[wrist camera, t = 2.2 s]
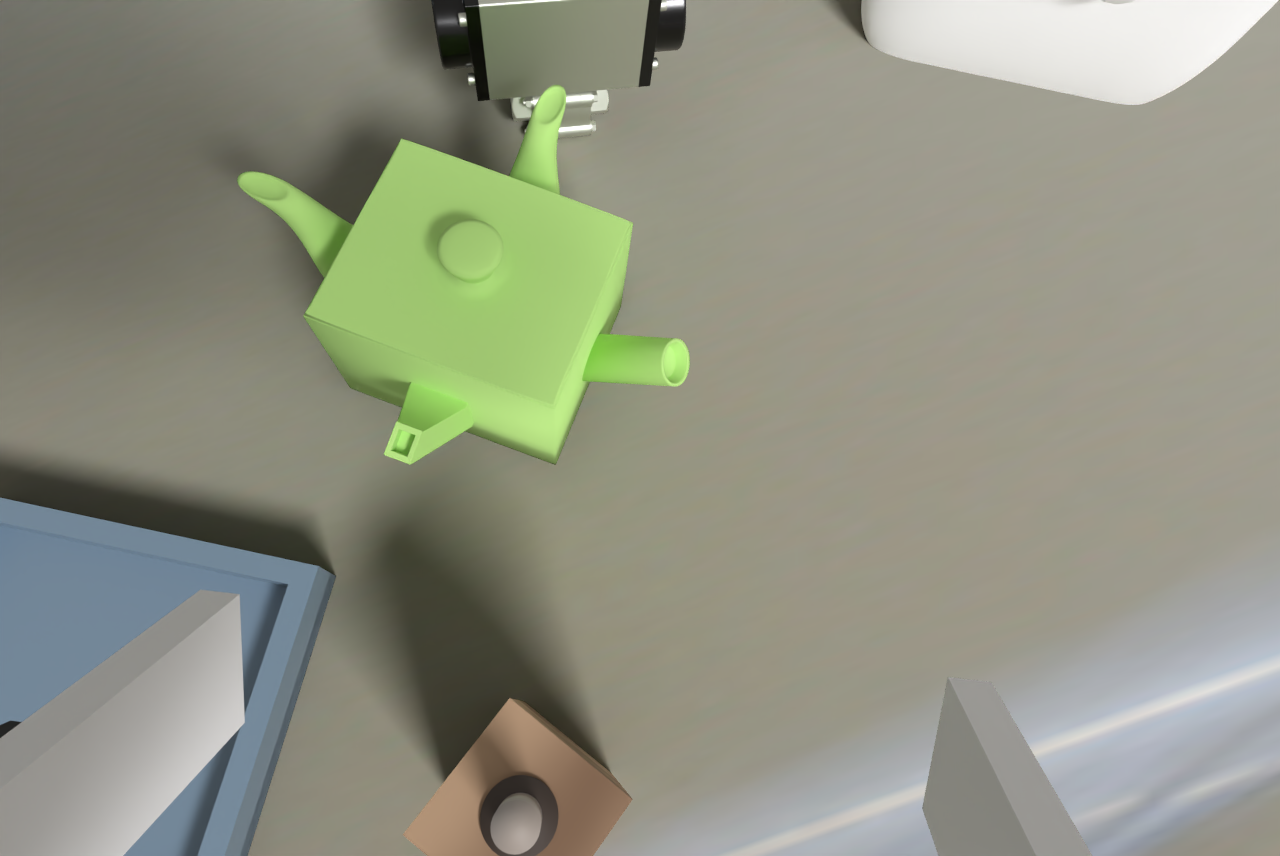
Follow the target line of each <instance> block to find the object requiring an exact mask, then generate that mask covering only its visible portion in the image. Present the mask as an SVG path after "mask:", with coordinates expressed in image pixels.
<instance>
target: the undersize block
mask: <svg viewBox="0 0 1280 856" xmlns="http://www.w3.org/2000/svg"><path fill="white" fill-rule="evenodd" d="M631 801H632V798H631V797H630V796H629V794H628V793H627V792H626V791H625V789H624V788H623V787H622V786H621V784H620V783H619V782H618V781H617V780H616V778H615V777H614V776H613V775H612V773H611V772H609V771H608V770H607V769H606V768H605V767H603V766H602V765H601V764H600V763H598V762H597V761H596V760H595V759H594V758H592V757H591V756H590V755H589V754H588V753H586V752H585V751H584V750H583V749H581V748H580V747H579V746H578V745H577V744H575V743H574V742H573V741H572V740H571V739H569V738H568V737H567V736H566V735H565V734H563V733H562V732H561V731H560V730H558V729H557V728H556V727H555V726H554V725H552V724H551V723H550V722H549V721H548V720H546V719H545V718H544V717H543V716H541V715H540V714H539V713H538V712H537V711H535V710H534V709H533V708H532V707H531V706H529V705H528V704H527V703H526V702H524V701H520V700H516V699H512V698H509V699H508V701H507V702H506V703H505V705H504V706H503V707H502V708H501V710H500V711H499V712H498V714H497V715H496V716H495V717H494V719H493V720H492V721H491V722H490V724H489V725H488V726H487V728H486V729H485V730H484V731H483V733H482V734H481V735H480V737H479V738H478V739H477V740H476V742H475V743H474V744H473V746H472V747H471V748H470V749H469V751H468V752H467V753H466V754H465V756H464V757H463V758H462V760H461V761H460V762H459V763H458V765H457V766H456V767H455V769H454V770H453V771H452V772H451V774H450V775H449V776H448V777H447V779H446V780H445V781H444V783H443V784H442V785H441V786H440V788H439V789H438V790H437V792H436V793H435V794H434V795H433V797H432V798H431V799H430V800H429V802H428V803H427V804H426V806H425V807H424V808H423V809H422V811H421V812H420V813H419V815H418V816H417V817H416V818H415V820H414V821H413V822H412V823H411V825H410V826H409V827H408V829H407V830H406V831H405V832H404V834H403V835H404V836H405V837H406V838H407V839H408V840H410V841H411V842H412V843H413V844H414V845H415V846H416V847H418V848H419V849H420V850H421V851H422V852H423V853H425V854H426V855H427V856H593V855H594V854H595V852H596V851H597V849H598V848H599V847H600V845H601V844H602V842H603V841H604V839H605V838H606V837H607V835H608V834H609V832H610V831H611V829H612V828H613V827H614V825H615V824H616V822H617V821H618V819H619V818H620V817H621V815H622V814H623V812H624V811H625V809H626V808H627V807H628V805H629V804H630V802H631Z"/></svg>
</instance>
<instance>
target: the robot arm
mask: <svg viewBox="0 0 1280 856" xmlns="http://www.w3.org/2000/svg"><path fill="white" fill-rule="evenodd" d="M244 723H245V715H244V690H243V666H242V641H241V617H240V594H233V593H225V592H216V591H208V590H199V591H198V592H197V593H195V594H194V595H193V596H191V597H190V598H189V599H187V600H186V601H184V602H183V603H182V604H180V605H179V606H178V607H176V608H175V609H174V610H172V611H171V612H170V613H168V614H167V615H166V616H164V617H163V618H162V619H160V620H159V621H158V622H156V623H155V624H153V625H152V626H151V627H149V628H148V629H147V630H145V631H144V632H143V633H141V634H140V635H139V636H137V637H136V638H135V639H133V640H132V641H131V642H129V643H128V644H127V645H125V646H124V647H123V648H121V649H120V650H118V651H117V652H116V653H114V654H113V655H112V656H110V657H109V658H108V659H106V660H105V661H104V662H102V663H101V664H100V665H98V666H97V667H96V668H94V669H93V670H92V671H90V672H89V673H87V674H86V675H85V676H83V677H82V678H81V679H79V680H78V681H77V682H75V683H74V684H73V685H71V686H70V687H69V688H67V689H66V690H65V691H63V692H62V693H61V694H59V695H58V696H56V697H55V698H54V699H52V700H51V701H50V702H48V703H47V704H46V705H44V706H43V707H42V708H40V709H39V710H38V711H36V712H35V713H34V714H32V715H31V716H30V717H28V718H27V719H25V720H24V721H23V722H18V721H11V720H10V721H8V722H6V723H4V724H1V725H0V856H123V855H124V854H125V853H126V852H127V851H128V850H129V849H130V848H131V847H132V845H133V844H134V843H135V842H136V841H137V840H138V839H139V838H140V837H141V836H142V835H143V833H144V832H145V831H146V830H147V829H148V828H149V827H150V826H151V825H152V824H153V823H154V821H155V820H156V819H157V818H158V817H159V816H160V815H161V814H162V813H163V812H164V810H165V809H166V808H167V807H168V806H169V805H170V804H171V803H172V802H173V801H174V800H175V798H176V797H177V796H178V795H179V794H180V793H181V792H182V791H183V790H184V789H185V787H186V786H187V785H188V784H189V783H190V782H191V781H192V780H193V779H194V778H195V777H196V775H197V774H198V773H199V772H200V771H201V770H202V769H203V768H204V767H205V766H206V765H207V763H208V762H209V761H210V760H211V759H212V758H213V757H214V756H215V755H216V754H217V752H218V751H219V750H220V749H221V748H222V747H223V746H224V745H225V744H226V743H227V742H228V740H229V739H230V738H231V737H232V736H233V735H234V734H235V733H236V732H237V731H238V729H239V728H240V727H241V726H242V725H243V724H244ZM922 809H923V812H924V815H925V818H926V820H927V823H928V826H929V829H930V832H931V835H932V838H933V841H934V844H935V847H936V850H937V852H938V855H939V856H1092V854H1091V853H1090V851H1089V849H1088V848H1087V846H1086V844H1085V842H1084V841H1083V839H1082V837H1081V835H1080V834H1079V832H1078V830H1077V829H1076V827H1075V825H1074V823H1073V822H1072V820H1071V818H1070V816H1069V815H1068V813H1067V811H1066V810H1065V808H1064V806H1063V804H1062V803H1061V801H1060V799H1059V798H1058V796H1057V794H1056V792H1055V791H1054V789H1053V787H1052V785H1051V784H1050V782H1049V780H1048V779H1047V777H1046V775H1045V773H1044V772H1043V770H1042V768H1041V766H1040V765H1039V763H1038V761H1037V760H1036V758H1035V756H1034V754H1033V753H1032V751H1031V749H1030V748H1029V746H1028V744H1027V742H1026V741H1025V739H1024V737H1023V735H1022V734H1021V732H1020V730H1019V729H1018V727H1017V725H1016V723H1015V722H1014V720H1013V718H1012V717H1011V715H1010V713H1009V711H1008V710H1007V708H1006V706H1005V704H1004V703H1003V701H1002V699H1001V698H1000V696H999V694H998V692H997V691H996V689H995V687H994V685H993V684H992V682H987V681H978V680H970V679H961V678H952V677H948V679H947V684H946V689H945V694H944V699H943V705H942V710H941V715H940V720H939V725H938V730H937V735H936V741H935V746H934V751H933V756H932V761H931V766H930V771H929V776H928V782H927V787H926V792H925V797H924V802H923V807H922Z"/></svg>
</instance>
